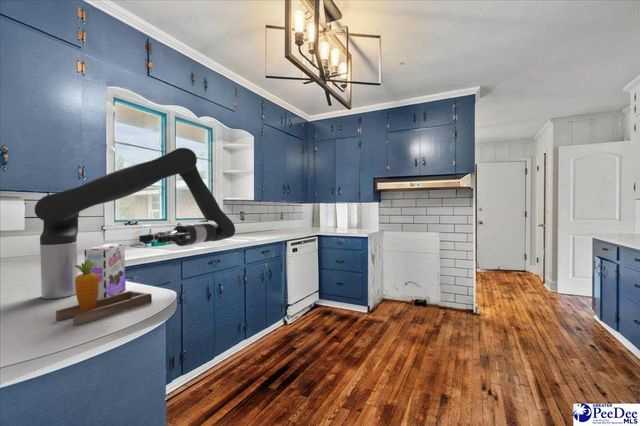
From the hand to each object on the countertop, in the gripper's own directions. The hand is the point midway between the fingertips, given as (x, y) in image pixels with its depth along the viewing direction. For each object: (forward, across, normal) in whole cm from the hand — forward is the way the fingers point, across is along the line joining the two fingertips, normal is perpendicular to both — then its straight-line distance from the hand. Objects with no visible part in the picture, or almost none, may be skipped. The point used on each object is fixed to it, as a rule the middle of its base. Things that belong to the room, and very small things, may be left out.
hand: (148, 239), depth 97 cm
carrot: (+18, 0, +19) cm, 26 cm away
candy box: (+4, -16, +19) cm, 25 cm away
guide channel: (+13, 0, +19) cm, 23 cm away
